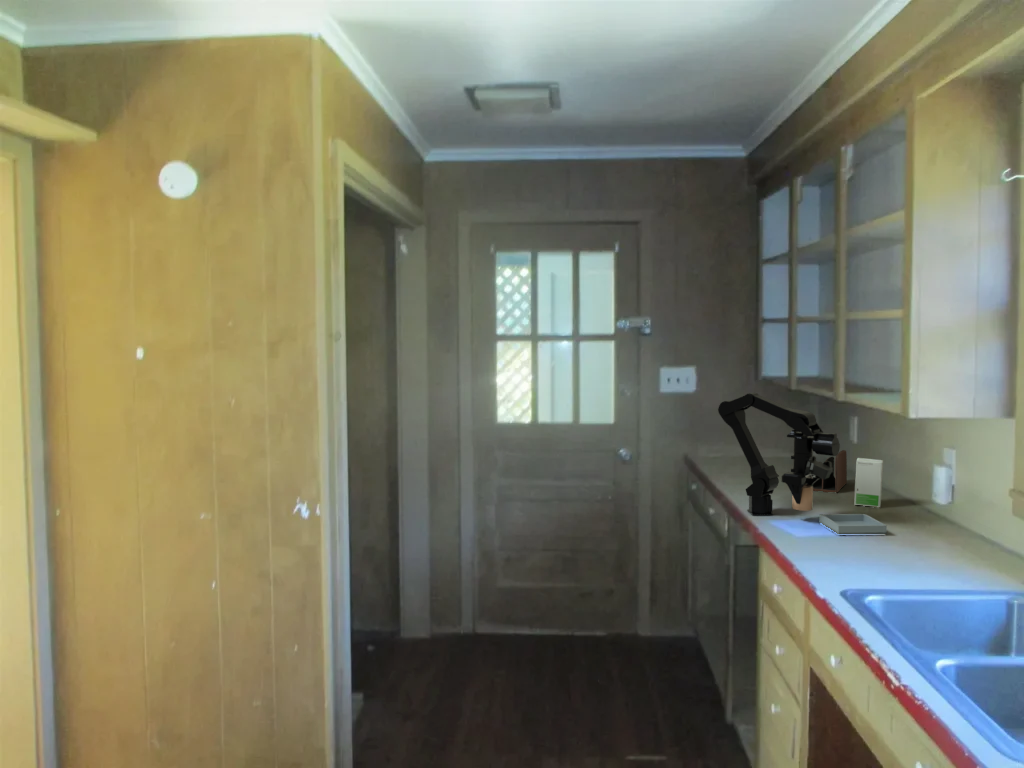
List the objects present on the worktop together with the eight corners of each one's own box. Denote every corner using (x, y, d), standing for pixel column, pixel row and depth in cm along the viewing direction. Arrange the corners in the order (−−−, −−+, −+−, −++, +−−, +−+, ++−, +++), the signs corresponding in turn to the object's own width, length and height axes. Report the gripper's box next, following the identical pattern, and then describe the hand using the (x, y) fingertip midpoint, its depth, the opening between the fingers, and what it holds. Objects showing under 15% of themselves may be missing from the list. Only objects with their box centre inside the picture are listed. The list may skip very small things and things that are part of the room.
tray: (838, 536, 228) (838, 526, 228) (819, 523, 242) (819, 514, 242) (886, 535, 228) (886, 525, 228) (864, 523, 242) (864, 513, 242)
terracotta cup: (796, 510, 243) (796, 488, 242) (789, 506, 249) (789, 484, 248) (815, 510, 243) (815, 487, 242) (808, 506, 249) (808, 484, 248)
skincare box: (853, 506, 265) (854, 460, 264) (855, 501, 271) (856, 457, 270) (881, 508, 261) (882, 462, 260) (882, 504, 267) (883, 459, 266)
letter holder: (846, 484, 301) (847, 447, 300) (837, 494, 284) (838, 455, 283) (819, 481, 306) (820, 445, 305) (808, 491, 290) (809, 453, 289)
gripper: (817, 459, 232) (816, 511, 233) (840, 451, 246) (839, 500, 247) (781, 455, 239) (780, 505, 241) (805, 447, 253) (804, 495, 254)
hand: (802, 501), depth 245 cm, fingers closed on terracotta cup, 6 cm apart
